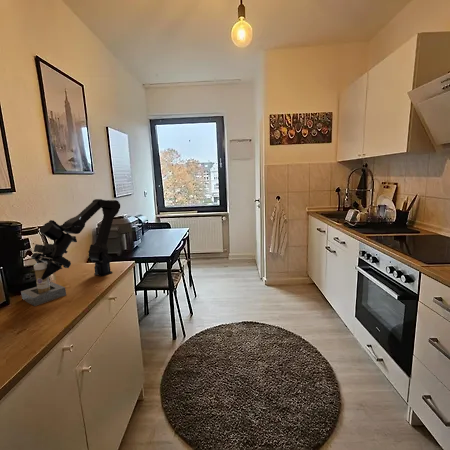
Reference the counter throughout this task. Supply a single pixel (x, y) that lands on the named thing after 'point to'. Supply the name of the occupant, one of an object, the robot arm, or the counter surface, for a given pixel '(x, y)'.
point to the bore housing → (43, 294)
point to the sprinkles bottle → (39, 271)
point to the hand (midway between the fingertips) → (38, 278)
